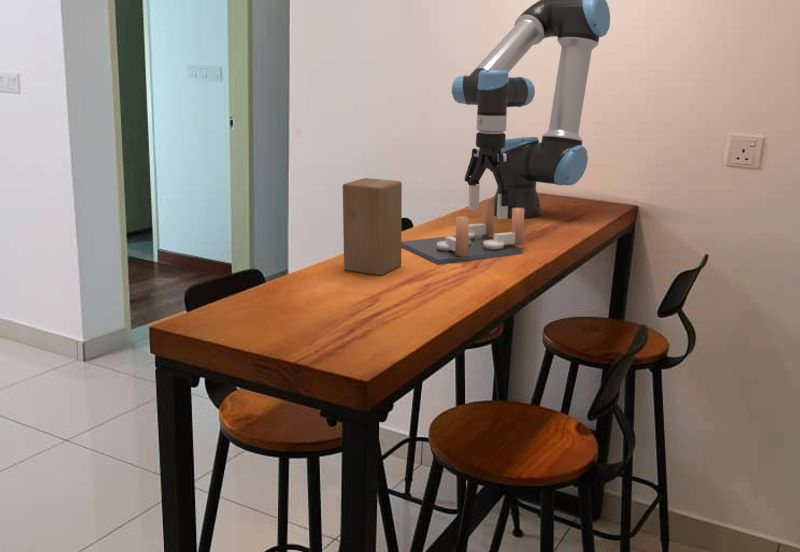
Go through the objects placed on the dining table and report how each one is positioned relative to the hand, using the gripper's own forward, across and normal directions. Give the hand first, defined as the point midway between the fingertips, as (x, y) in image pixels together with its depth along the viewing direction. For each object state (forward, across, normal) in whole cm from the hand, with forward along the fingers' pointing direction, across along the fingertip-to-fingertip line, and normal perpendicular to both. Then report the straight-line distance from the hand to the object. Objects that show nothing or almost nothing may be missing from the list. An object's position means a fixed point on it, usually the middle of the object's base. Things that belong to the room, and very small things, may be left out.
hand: (487, 214), depth 209 cm
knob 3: (+6, +12, -3) cm, 13 cm away
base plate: (+7, +6, -12) cm, 15 cm away
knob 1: (+6, +11, -17) cm, 21 cm away
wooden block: (+8, +12, -38) cm, 41 cm away
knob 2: (+6, 0, -4) cm, 7 cm away
